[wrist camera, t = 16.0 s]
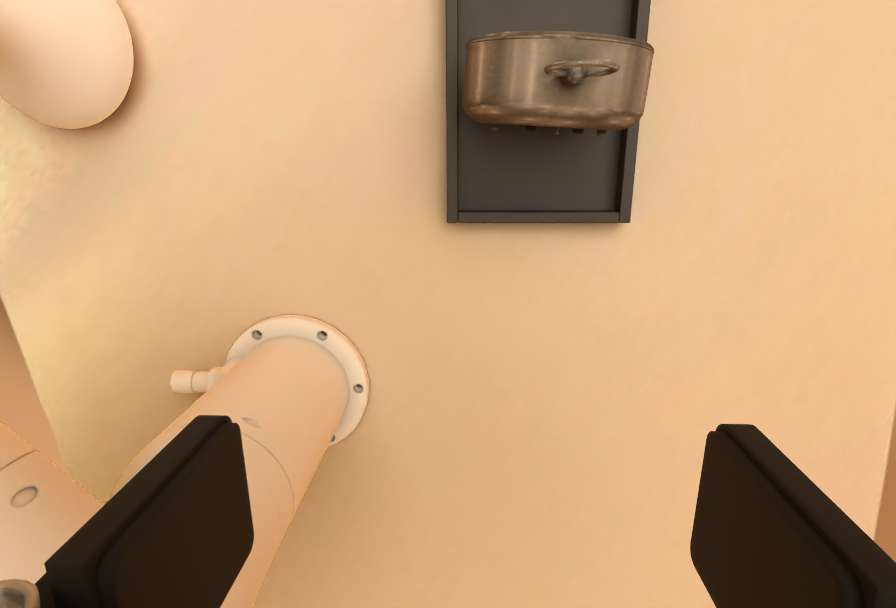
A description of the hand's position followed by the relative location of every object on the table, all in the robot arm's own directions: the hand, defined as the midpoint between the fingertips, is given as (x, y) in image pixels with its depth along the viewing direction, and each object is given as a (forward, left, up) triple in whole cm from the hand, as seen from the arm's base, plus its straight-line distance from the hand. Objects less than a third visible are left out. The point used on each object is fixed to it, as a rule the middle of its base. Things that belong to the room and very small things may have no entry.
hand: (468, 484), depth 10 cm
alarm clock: (+5, +10, -32) cm, 34 cm away
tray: (+5, +10, -32) cm, 34 cm away
